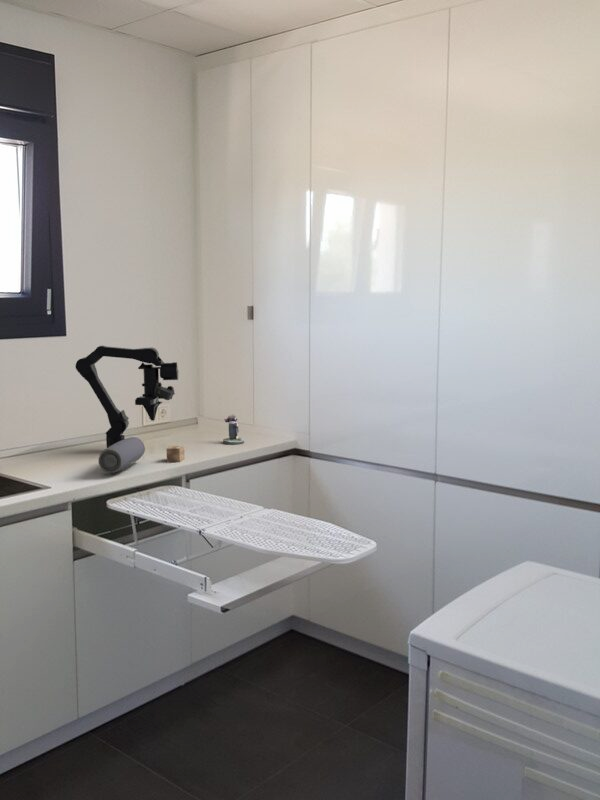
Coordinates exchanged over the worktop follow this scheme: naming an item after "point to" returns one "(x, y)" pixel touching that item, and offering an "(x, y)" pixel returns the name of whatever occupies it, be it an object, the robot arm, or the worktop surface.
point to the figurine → (233, 432)
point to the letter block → (175, 454)
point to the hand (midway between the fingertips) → (152, 420)
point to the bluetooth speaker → (121, 455)
